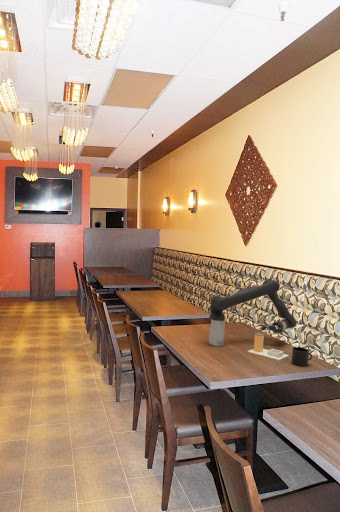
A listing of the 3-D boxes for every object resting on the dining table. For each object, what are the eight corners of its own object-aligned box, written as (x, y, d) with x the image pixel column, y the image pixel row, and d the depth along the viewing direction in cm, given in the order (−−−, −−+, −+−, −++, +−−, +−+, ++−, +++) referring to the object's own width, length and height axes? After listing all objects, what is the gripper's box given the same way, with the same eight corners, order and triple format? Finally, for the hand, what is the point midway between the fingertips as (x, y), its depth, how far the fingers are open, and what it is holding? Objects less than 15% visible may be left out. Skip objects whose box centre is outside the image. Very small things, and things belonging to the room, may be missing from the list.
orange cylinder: (253, 350, 272) (254, 333, 272) (256, 349, 276) (257, 332, 275) (259, 352, 270) (261, 335, 269) (262, 350, 273) (264, 334, 272)
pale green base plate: (247, 353, 270) (247, 347, 270) (257, 349, 281) (258, 343, 280) (278, 362, 256) (279, 355, 256) (288, 357, 267) (289, 351, 266)
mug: (314, 367, 250) (315, 352, 250) (294, 366, 250) (295, 351, 249) (308, 361, 260) (309, 347, 259) (289, 361, 259) (290, 346, 259)
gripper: (269, 319, 297) (258, 322, 285) (288, 323, 288) (278, 326, 276) (269, 329, 298) (258, 333, 285) (288, 333, 289) (277, 338, 276)
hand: (268, 330), depth 281 cm, fingers open, 8 cm apart
